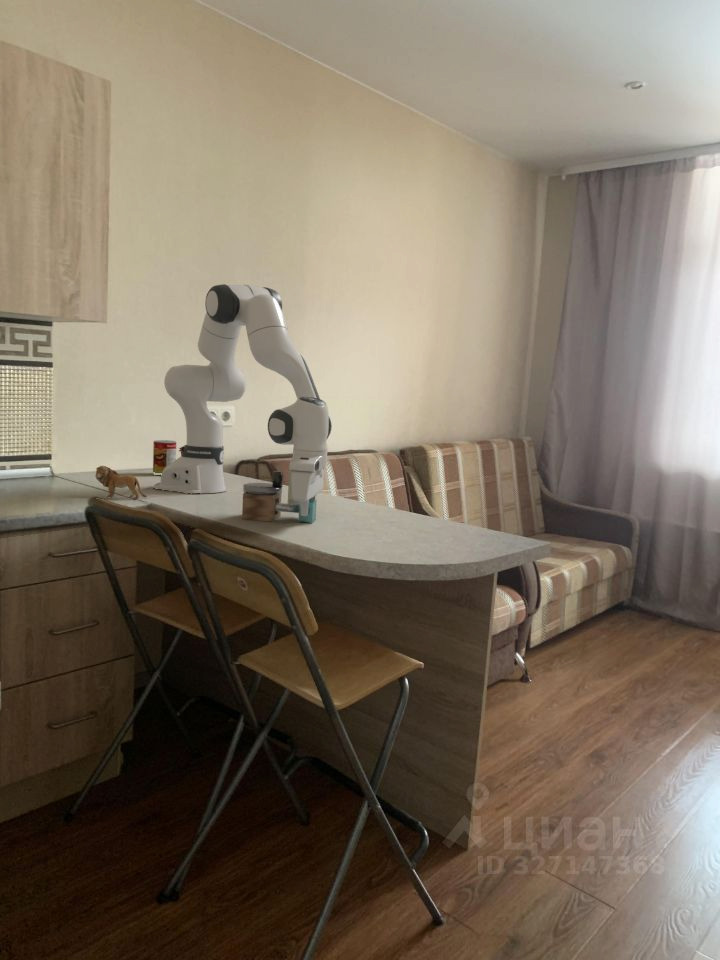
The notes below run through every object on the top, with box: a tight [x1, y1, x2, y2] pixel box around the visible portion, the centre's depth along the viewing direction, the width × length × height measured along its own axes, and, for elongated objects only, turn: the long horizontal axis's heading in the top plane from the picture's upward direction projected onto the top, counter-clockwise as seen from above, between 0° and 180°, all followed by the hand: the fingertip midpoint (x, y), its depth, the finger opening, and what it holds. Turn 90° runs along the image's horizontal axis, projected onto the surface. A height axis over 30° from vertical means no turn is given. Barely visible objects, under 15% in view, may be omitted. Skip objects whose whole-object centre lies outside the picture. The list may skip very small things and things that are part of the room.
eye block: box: [241, 492, 282, 522], centre depth 190 cm, size 8×8×7 cm
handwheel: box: [242, 470, 284, 495], centre depth 190 cm, size 10×10×6 cm
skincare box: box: [287, 464, 299, 505], centre depth 211 cm, size 6×4×12 cm
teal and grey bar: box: [275, 499, 317, 523], centre depth 190 cm, size 19×4×5 cm, turn 80°
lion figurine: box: [94, 465, 147, 500], centre depth 208 cm, size 15×5×9 cm, turn 90°
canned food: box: [152, 439, 177, 473], centre depth 258 cm, size 8×8×12 cm
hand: (307, 513), depth 189 cm, fingers open, 5 cm apart
